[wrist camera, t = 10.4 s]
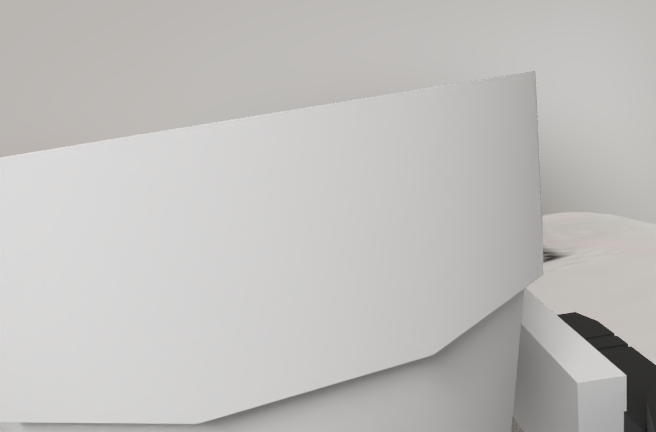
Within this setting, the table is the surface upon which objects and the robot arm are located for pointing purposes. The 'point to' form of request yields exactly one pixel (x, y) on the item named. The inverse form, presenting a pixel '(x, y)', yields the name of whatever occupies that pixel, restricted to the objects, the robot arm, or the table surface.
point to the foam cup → (277, 270)
